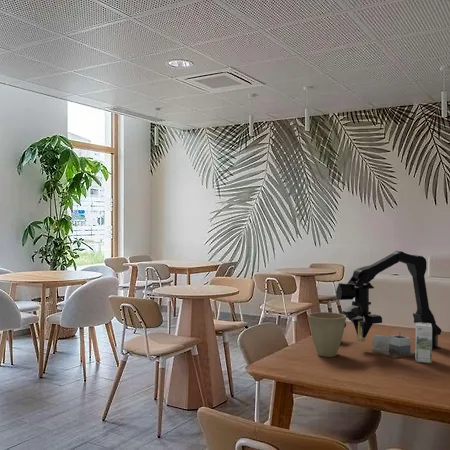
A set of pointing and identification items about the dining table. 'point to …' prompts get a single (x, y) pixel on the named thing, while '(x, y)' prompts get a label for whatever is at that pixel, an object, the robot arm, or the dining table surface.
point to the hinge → (392, 346)
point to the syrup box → (423, 343)
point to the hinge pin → (360, 332)
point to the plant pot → (327, 332)
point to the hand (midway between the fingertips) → (361, 336)
